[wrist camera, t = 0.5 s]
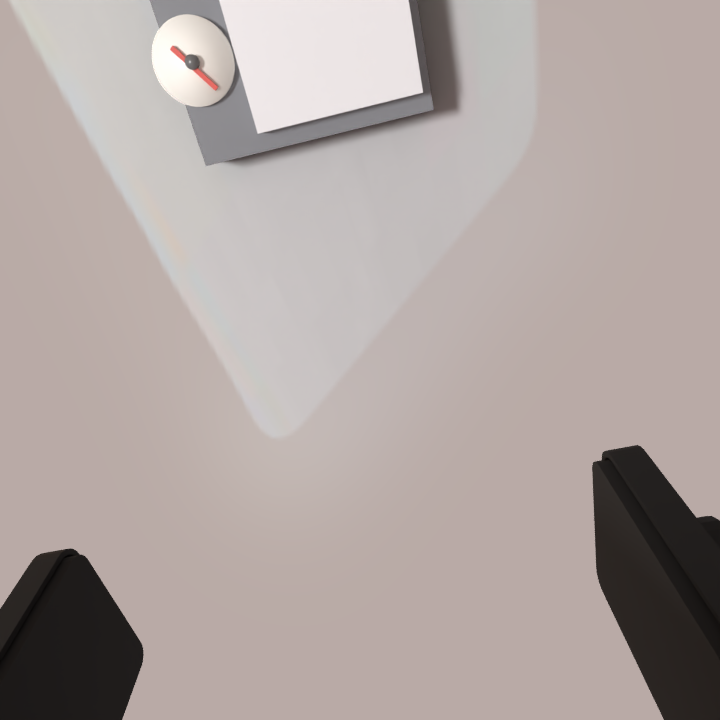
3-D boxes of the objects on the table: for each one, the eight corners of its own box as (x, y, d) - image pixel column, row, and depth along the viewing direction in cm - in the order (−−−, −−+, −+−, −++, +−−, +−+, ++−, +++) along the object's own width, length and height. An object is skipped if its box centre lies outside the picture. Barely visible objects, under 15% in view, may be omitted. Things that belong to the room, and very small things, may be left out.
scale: (131, -35, 28) (110, -45, 26) (395, -110, 27) (400, -129, 25) (199, 164, 33) (187, 171, 30) (429, 107, 32) (435, 110, 29)
